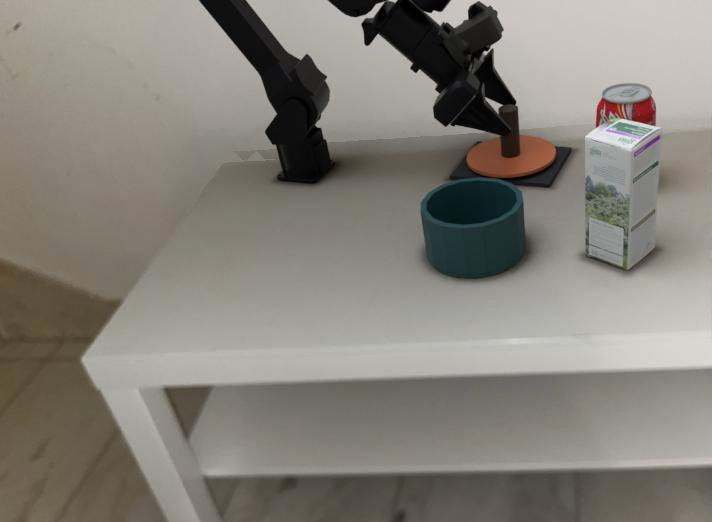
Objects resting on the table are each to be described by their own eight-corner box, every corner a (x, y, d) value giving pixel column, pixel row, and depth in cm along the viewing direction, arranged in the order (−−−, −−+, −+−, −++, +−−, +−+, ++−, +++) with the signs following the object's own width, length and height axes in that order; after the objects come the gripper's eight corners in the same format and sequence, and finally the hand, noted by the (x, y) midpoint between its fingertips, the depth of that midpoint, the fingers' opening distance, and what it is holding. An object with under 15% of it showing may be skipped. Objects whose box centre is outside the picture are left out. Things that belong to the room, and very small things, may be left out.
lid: (483, 190, 100) (479, 135, 95) (456, 154, 109) (450, 102, 105) (570, 168, 102) (570, 113, 97) (535, 135, 111) (534, 83, 107)
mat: (449, 178, 105) (449, 175, 104) (477, 144, 112) (477, 141, 112) (549, 187, 99) (549, 183, 99) (571, 150, 107) (571, 147, 107)
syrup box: (656, 248, 85) (665, 124, 76) (626, 273, 82) (631, 147, 73) (613, 233, 89) (616, 113, 80) (582, 257, 86) (582, 134, 77)
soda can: (584, 188, 98) (584, 97, 91) (614, 166, 102) (617, 77, 94) (632, 202, 94) (636, 107, 87) (662, 179, 98) (669, 86, 90)
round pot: (412, 271, 88) (404, 221, 84) (449, 221, 96) (443, 173, 92) (506, 284, 83) (503, 232, 79) (537, 231, 91) (535, 181, 87)
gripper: (450, 11, 85) (552, 102, 90) (470, -32, 100) (557, 49, 104) (391, 84, 92) (489, 166, 96) (418, 34, 106) (502, 108, 111)
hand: (511, 119), depth 102 cm, fingers open, 9 cm apart
